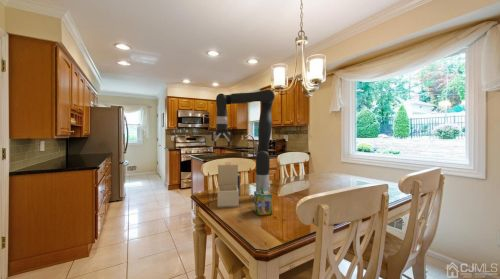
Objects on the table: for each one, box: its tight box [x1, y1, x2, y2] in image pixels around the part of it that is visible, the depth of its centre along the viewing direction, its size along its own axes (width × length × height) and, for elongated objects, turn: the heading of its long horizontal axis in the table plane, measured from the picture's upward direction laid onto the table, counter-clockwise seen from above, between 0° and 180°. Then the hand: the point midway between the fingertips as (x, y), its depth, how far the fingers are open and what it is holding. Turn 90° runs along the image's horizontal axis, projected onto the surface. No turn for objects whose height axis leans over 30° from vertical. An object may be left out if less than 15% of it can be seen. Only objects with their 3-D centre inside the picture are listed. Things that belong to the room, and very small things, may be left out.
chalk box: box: [253, 186, 273, 216], centre depth 125 cm, size 9×9×15 cm
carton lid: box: [217, 162, 239, 186], centre depth 148 cm, size 13×14×6 cm
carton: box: [217, 184, 240, 209], centre depth 140 cm, size 13×15×10 cm
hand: (222, 146), depth 149 cm, fingers open, 8 cm apart
